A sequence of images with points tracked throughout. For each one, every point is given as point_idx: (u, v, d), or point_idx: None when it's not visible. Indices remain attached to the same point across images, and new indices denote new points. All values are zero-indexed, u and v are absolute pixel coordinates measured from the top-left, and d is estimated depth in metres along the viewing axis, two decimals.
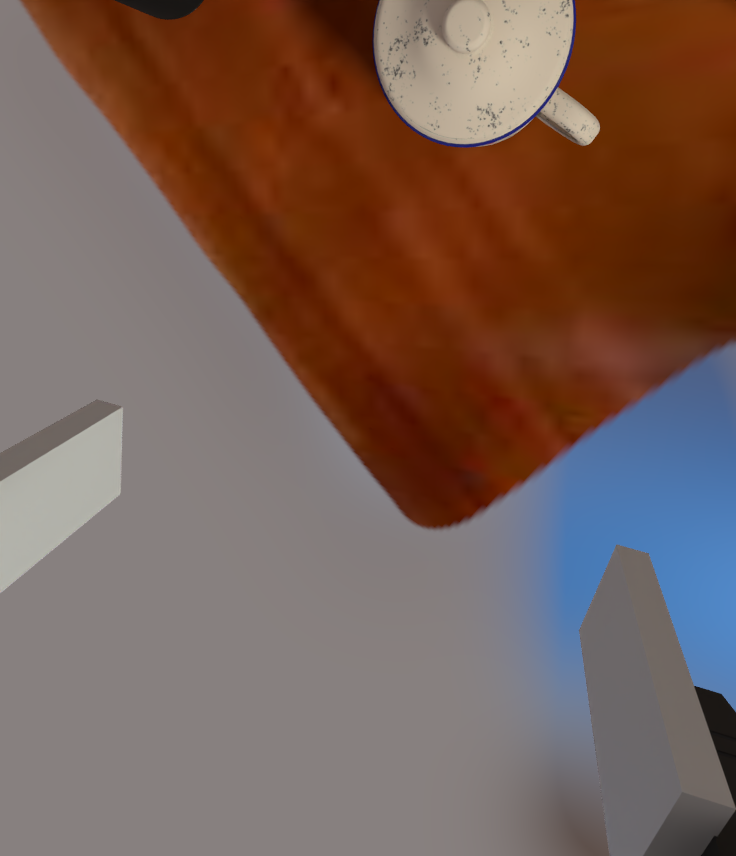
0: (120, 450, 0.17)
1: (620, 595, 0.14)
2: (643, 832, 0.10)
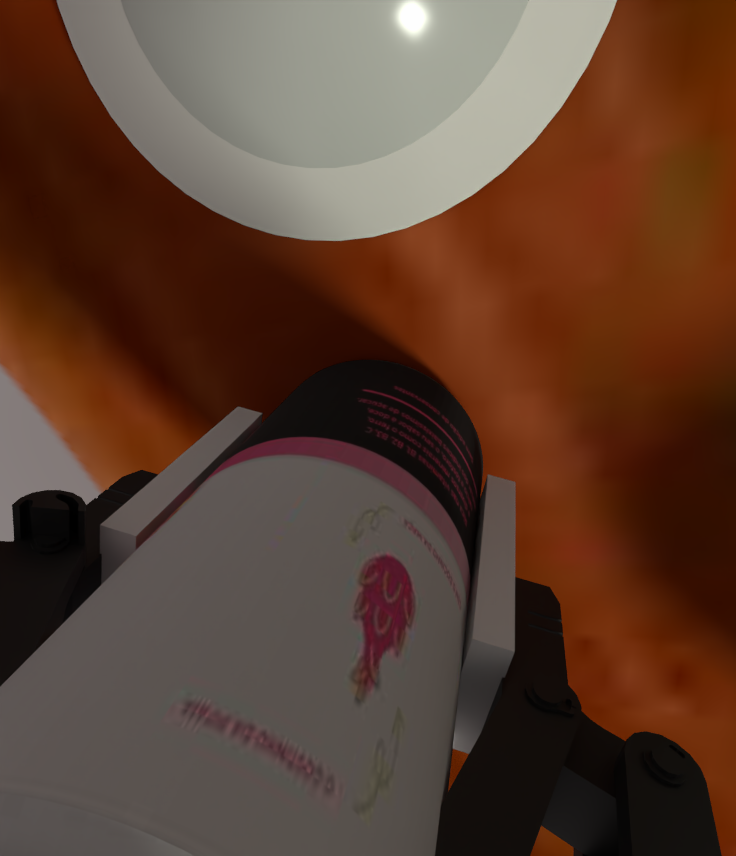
0: None
1: (481, 514, 0.16)
2: None
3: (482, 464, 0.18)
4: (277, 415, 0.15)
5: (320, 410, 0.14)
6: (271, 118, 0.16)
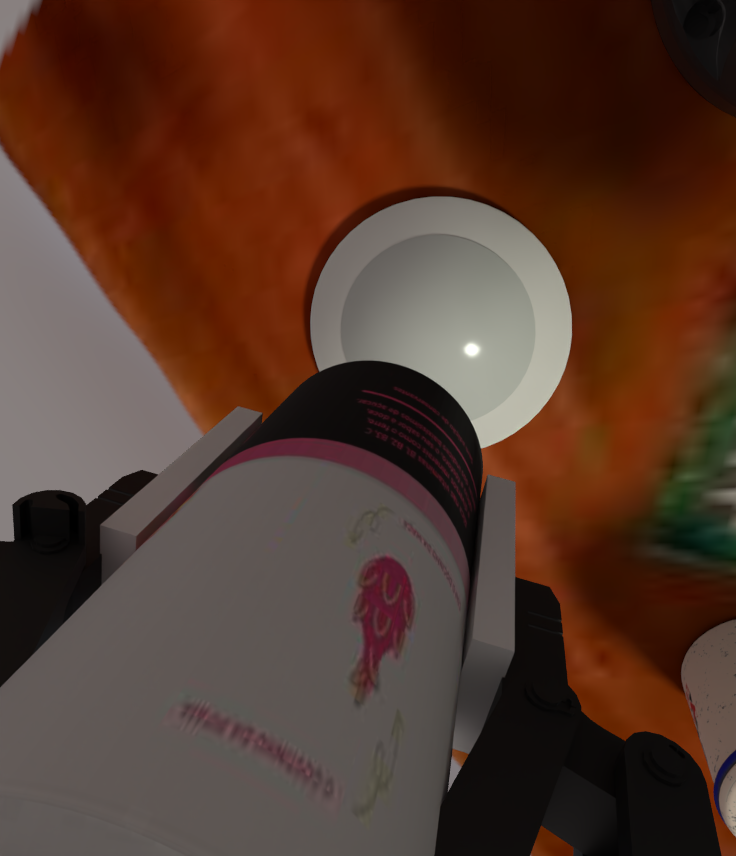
0: None
1: (481, 513, 0.16)
2: None
3: (482, 465, 0.18)
4: (277, 416, 0.15)
5: (319, 410, 0.14)
6: None
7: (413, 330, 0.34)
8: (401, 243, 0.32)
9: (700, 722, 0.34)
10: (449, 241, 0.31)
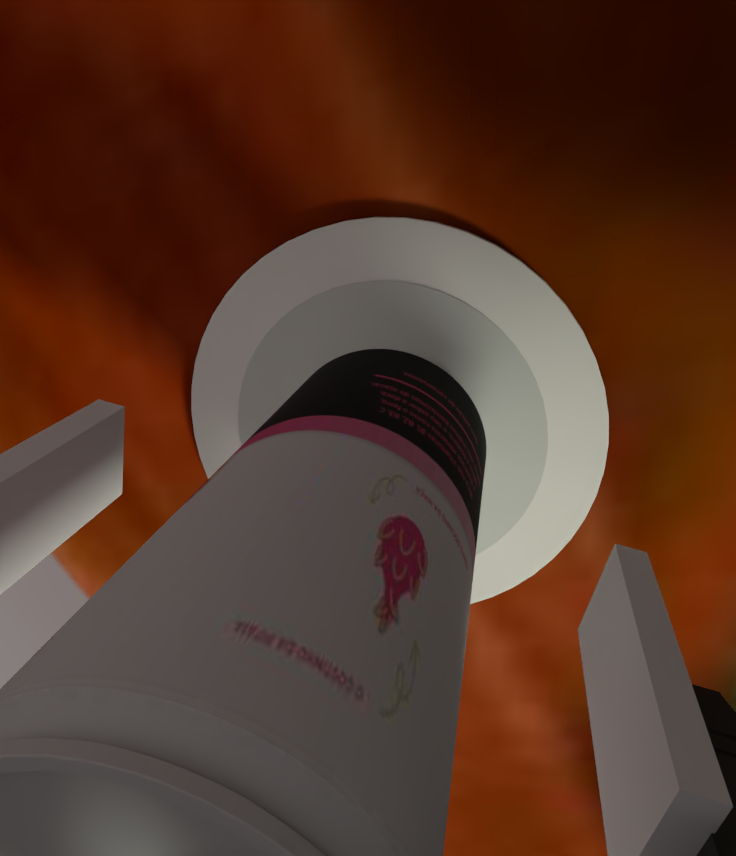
0: (121, 450, 0.17)
1: (618, 594, 0.14)
2: (641, 830, 0.10)
3: None
4: (296, 398, 0.16)
5: (336, 392, 0.15)
6: None
7: None
8: (326, 294, 0.19)
9: None
10: (405, 292, 0.19)
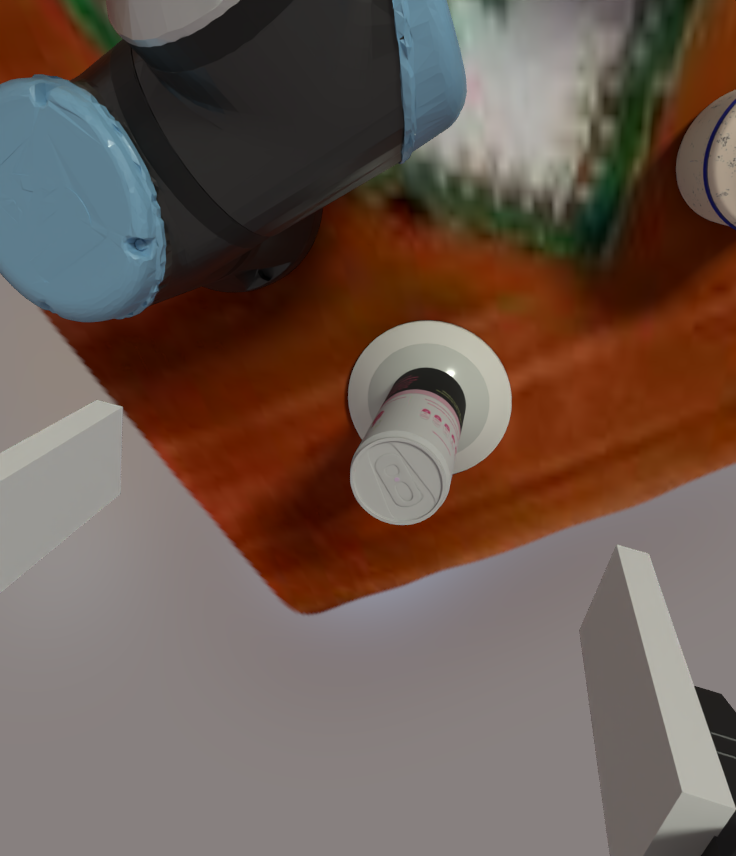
0: (120, 450, 0.17)
1: (620, 595, 0.14)
2: (643, 832, 0.10)
3: (425, 368, 0.51)
4: None
5: None
6: (473, 422, 0.53)
7: None
8: (372, 416, 0.55)
9: None
10: (372, 390, 0.54)
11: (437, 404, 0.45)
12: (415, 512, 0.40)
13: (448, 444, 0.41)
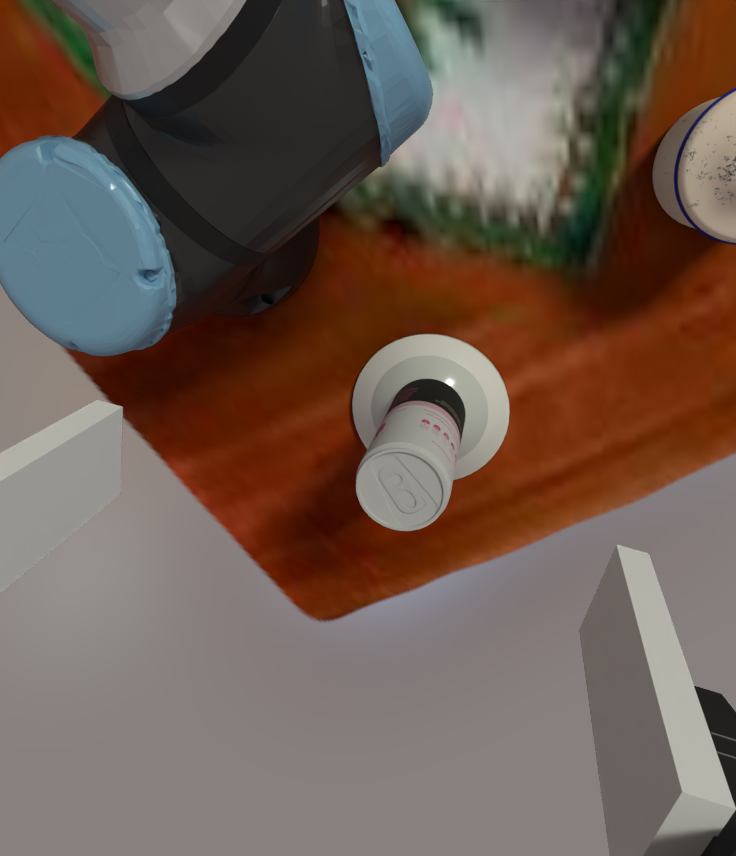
0: (120, 450, 0.17)
1: (620, 596, 0.14)
2: (643, 832, 0.10)
3: (424, 379, 0.54)
4: None
5: None
6: (473, 429, 0.55)
7: None
8: (376, 427, 0.57)
9: None
10: (375, 402, 0.56)
11: (436, 414, 0.47)
12: (419, 518, 0.43)
13: (447, 452, 0.43)
